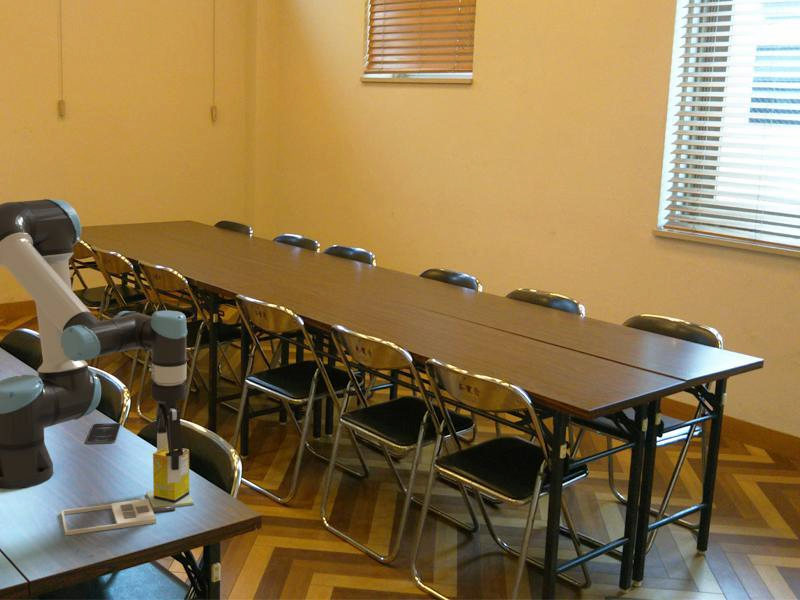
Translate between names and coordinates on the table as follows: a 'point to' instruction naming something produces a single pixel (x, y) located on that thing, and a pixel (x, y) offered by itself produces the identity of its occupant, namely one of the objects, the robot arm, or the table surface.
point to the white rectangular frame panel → (119, 515)
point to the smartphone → (103, 433)
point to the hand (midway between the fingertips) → (168, 470)
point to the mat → (160, 503)
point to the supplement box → (160, 477)
